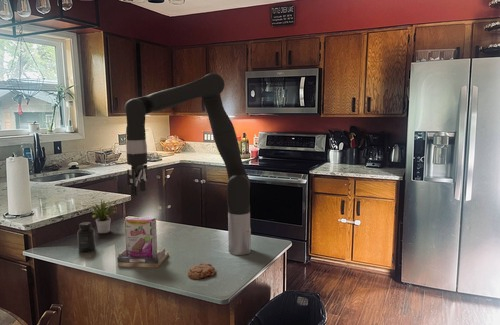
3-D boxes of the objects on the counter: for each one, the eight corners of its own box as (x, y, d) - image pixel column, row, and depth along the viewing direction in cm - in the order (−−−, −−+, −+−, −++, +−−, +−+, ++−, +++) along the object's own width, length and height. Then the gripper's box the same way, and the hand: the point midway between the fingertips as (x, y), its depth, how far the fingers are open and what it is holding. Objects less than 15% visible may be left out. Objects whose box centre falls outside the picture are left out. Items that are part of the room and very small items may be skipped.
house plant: (102, 238, 179) (99, 204, 177) (81, 234, 185) (78, 202, 183) (123, 230, 192) (122, 198, 190) (103, 226, 198) (101, 196, 196)
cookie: (181, 277, 137) (181, 269, 137) (197, 266, 147) (197, 259, 146) (205, 282, 133) (205, 274, 133) (220, 271, 143) (220, 263, 142)
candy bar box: (126, 260, 149) (123, 219, 147) (132, 255, 154) (130, 216, 152) (152, 261, 147) (151, 220, 145) (158, 257, 152) (156, 217, 150)
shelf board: (168, 254, 158) (168, 244, 158) (157, 267, 145) (157, 256, 145) (131, 253, 160) (130, 243, 159) (117, 266, 147) (116, 255, 146)
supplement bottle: (99, 248, 166) (97, 222, 165) (86, 254, 160) (84, 226, 159) (87, 246, 169) (85, 220, 168) (74, 251, 163) (72, 224, 161)
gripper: (134, 149, 152) (136, 189, 154) (119, 153, 138) (121, 197, 140) (152, 149, 152) (154, 189, 154) (139, 153, 138) (141, 197, 140)
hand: (138, 193), depth 147 cm, fingers open, 8 cm apart
